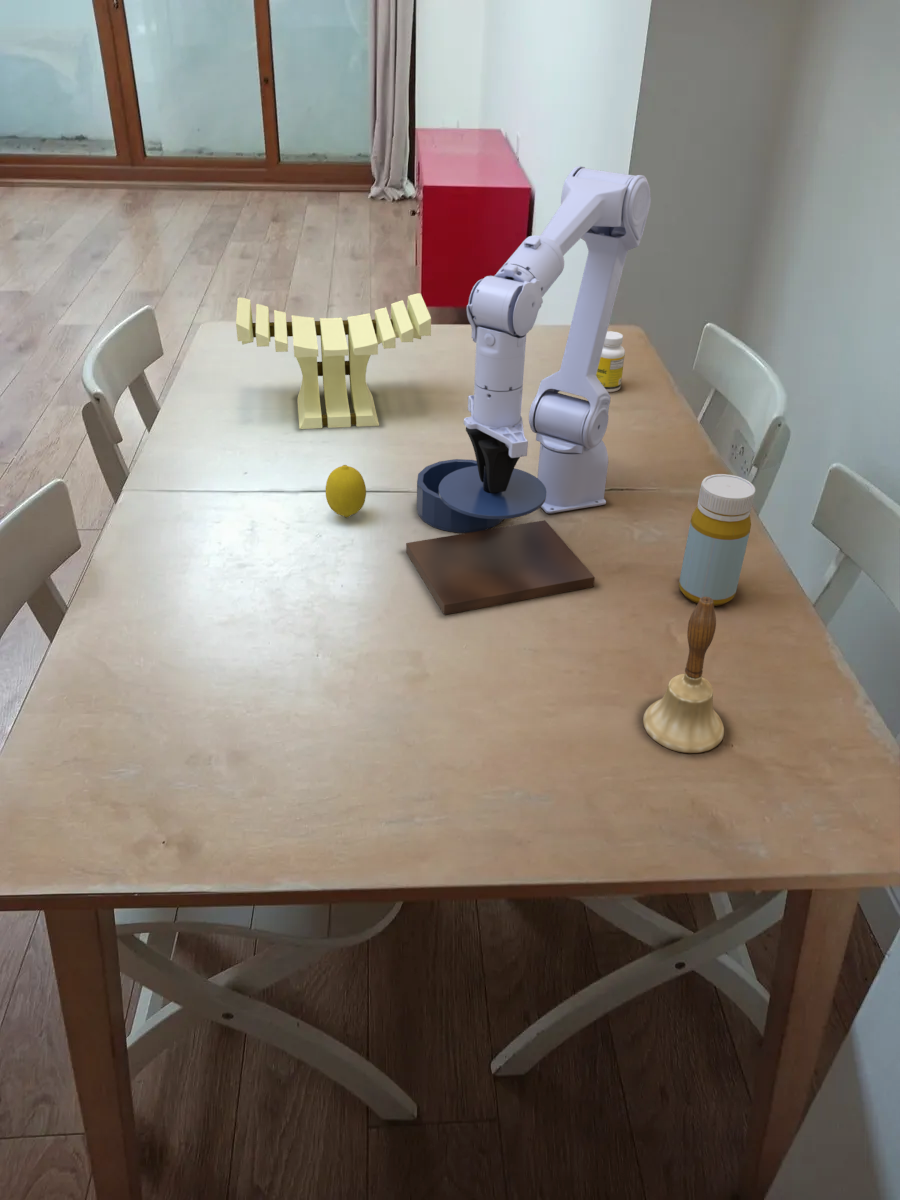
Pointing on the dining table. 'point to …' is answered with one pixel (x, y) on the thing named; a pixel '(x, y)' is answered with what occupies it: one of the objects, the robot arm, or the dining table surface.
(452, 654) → the dining table surface
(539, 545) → the board
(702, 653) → the hand bell
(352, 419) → the slatted curved stool
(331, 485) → the lemon
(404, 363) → the dining table surface
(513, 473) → the lid
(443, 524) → the tin
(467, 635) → the dining table surface
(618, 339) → the supplement bottle
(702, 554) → the bottle
